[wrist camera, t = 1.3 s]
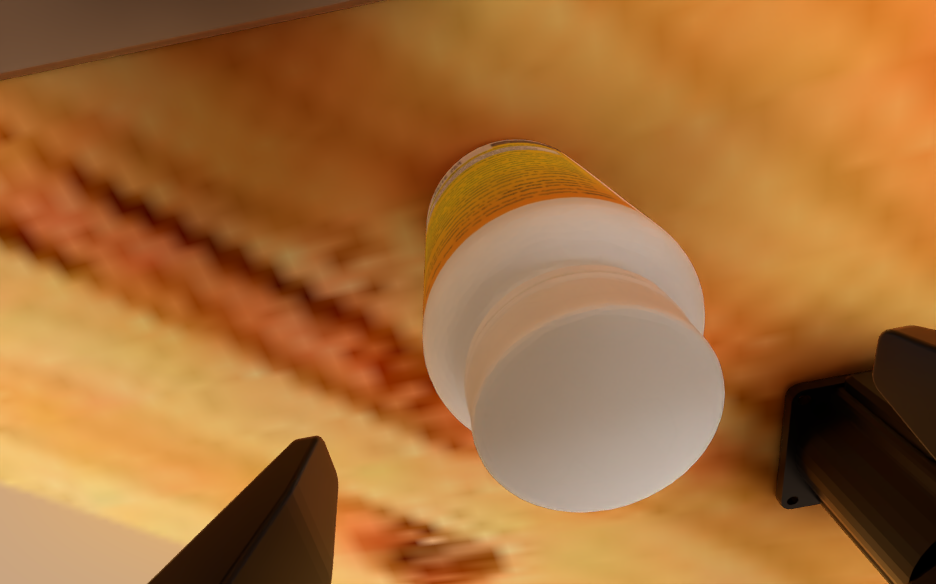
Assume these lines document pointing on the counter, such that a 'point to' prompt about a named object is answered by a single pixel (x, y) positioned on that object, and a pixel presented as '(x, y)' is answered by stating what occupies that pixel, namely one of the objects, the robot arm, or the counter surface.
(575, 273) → the supplement bottle
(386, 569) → the counter surface
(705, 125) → the counter surface
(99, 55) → the walnut stand
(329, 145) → the counter surface
